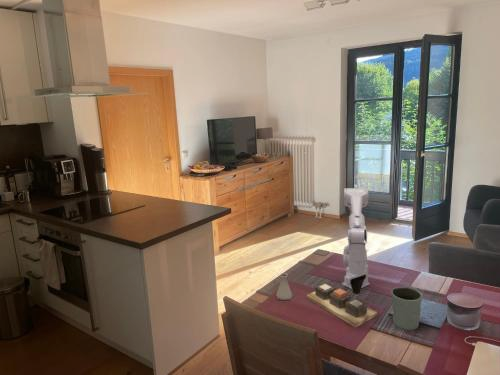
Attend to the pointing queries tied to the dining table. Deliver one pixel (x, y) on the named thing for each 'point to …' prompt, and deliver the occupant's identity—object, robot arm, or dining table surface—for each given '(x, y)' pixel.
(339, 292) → the terracotta button
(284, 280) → the flask
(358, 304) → the grey button
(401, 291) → the green cylindrical pot
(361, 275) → the robot arm
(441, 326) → the dining table surface
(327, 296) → the button panel
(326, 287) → the offwhite button
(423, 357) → the dining table surface
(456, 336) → the dining table surface
